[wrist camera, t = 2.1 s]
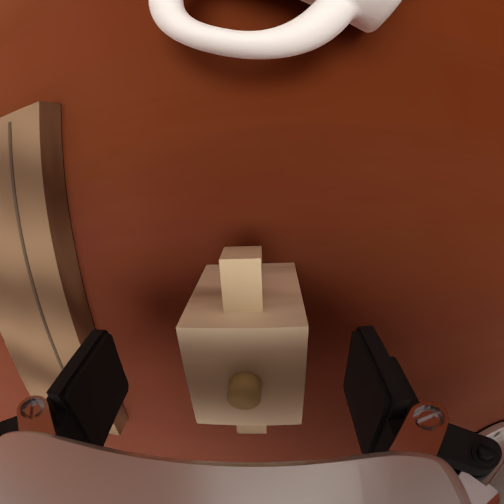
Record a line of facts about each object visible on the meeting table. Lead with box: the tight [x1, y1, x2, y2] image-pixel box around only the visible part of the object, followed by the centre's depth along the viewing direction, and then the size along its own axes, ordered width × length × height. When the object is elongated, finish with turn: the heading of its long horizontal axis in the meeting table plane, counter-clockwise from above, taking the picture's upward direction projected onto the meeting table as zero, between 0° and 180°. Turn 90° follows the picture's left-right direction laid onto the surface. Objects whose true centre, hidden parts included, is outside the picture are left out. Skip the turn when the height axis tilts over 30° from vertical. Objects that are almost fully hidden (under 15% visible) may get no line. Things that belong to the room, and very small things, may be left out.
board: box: [0, 101, 128, 436], centre depth 16 cm, size 22×8×2 cm, turn 2°
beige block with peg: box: [176, 246, 309, 434], centre depth 13 cm, size 9×4×7 cm, turn 3°
